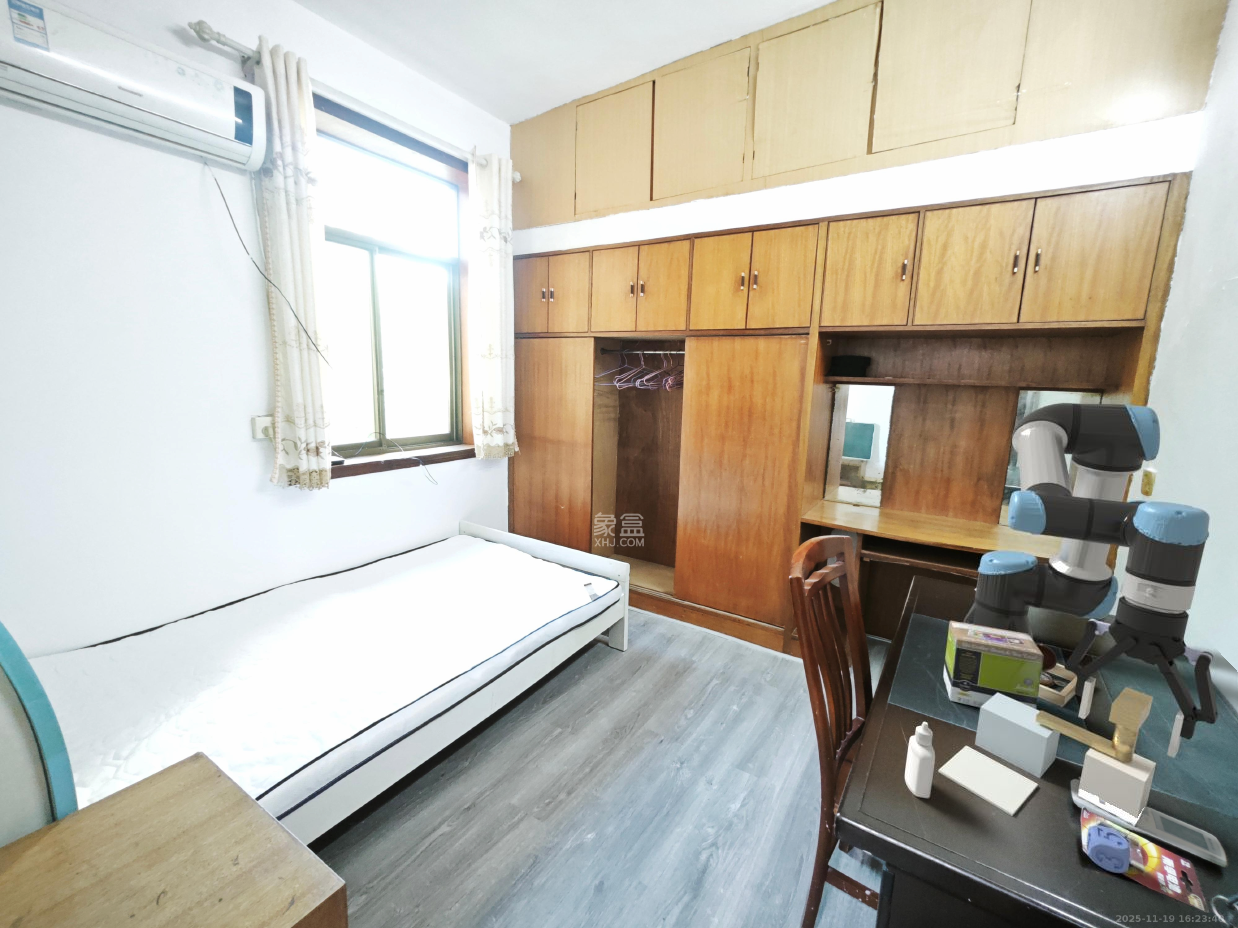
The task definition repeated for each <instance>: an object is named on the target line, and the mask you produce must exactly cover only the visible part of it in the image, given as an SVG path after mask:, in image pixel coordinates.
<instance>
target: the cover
mask: <svg viewBox="0 0 1238 928" xmlns="http://www.w3.org/2000/svg"><path fill="white" fill-rule="evenodd" d="M1040 711H1041V710H1038V709H1037V708H1036V709H1034V708H1032V707H1030V706H1027V705H1025V704H1023V703H1021V702H1018V701H1016V700H1014V699H1011V698H1009V697H1007V696H1005V695H1002V694H1000V693H996V694H995V695H994V696H993V697H992V698H991V699H989V700H988V701H987V702H986V703H985V704H983V705H982V706H981V708H980V707H979V714H978V721H977V722H978V723H977V729H976V735H975V742H974V745H975V746H978V747H979V748H981V749H983V750H985V751H987V752H988V753H991V754H992V755H993V756H994V755H995V756H996V757H999V758H1000V759H1002V760H1004V761H1006V762H1008V763H1010V764H1012V765H1014V766H1016V767H1017V768H1019V769H1022V770H1023V771H1024V772H1027V773H1029V774H1030V775H1032V776H1035V777H1036V778H1038V779H1040V778H1042V776H1043V775H1044V774H1045V772H1046V771H1047V770H1048V769H1049V768H1050V766H1051V765H1052V764H1053V763H1054V762H1055V760H1056V756H1057V752H1058V751H1057V750H1058V745H1059V741H1060V735H1061V733H1060V732H1058V731H1056V730H1054V729H1052V728H1049V727H1047V726H1045V725H1043V724H1041V723H1039V722H1036V715H1037V714H1038V713H1039V712H1040Z"/></svg>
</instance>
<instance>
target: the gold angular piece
mask: <svg viewBox="0 0 1238 928" xmlns="http://www.w3.org/2000/svg"><path fill="white" fill-rule="evenodd" d="M1153 699H1154V696H1152V695H1150V694H1149V695H1148V694H1147V693H1143V692H1141V691H1139V690H1136V689H1132V688H1131V687H1127V686H1125V688H1124V689H1122V691H1121V692H1120V694H1119V695H1118V696H1117V697H1116V698H1115V699H1114V701H1113V702H1112V703H1111V707H1110V712H1109V717H1108V721H1109V722H1111V723H1112V724H1113V723H1114V726H1115V727H1114V731H1113V736H1112V740H1111V739H1110V740H1109V739H1107V738H1105V737H1103V736H1101V735H1098V734H1097V733H1094V732H1091V731H1089V730H1088V729H1085V728H1083V727H1080V726H1078V725H1076V724H1073V723H1071V722H1069V721H1066V720H1064V719H1062V718H1060V717H1058V716H1056V715H1053V714H1050V713H1048V712H1046V711H1044V710H1039V711H1040V712H1039V713H1038V714H1037V715H1036V722H1039V723H1041V724H1043V725H1045V726H1047V727H1049V728H1052V729H1054V730H1056V731H1058V732H1060V734H1063V735H1064V736H1067V737H1069V738H1072V739H1074V740H1076V741H1078V742H1080V743H1081V744H1082V743H1083V744H1085V745H1087V746H1089V747H1090V748H1091V747H1093V748H1095V749H1097V750H1100V751H1102V752H1104V753H1106V754H1108V755H1111V756H1113V757H1115V758H1117V759H1119V760H1121V761H1124V762H1132V759H1133V755H1134V754H1135V750H1136V745H1137V740H1138V737H1139V736H1138V735H1139V730H1140V729H1141V727H1142V726H1143V723H1145V721H1146V719H1147V718H1148V717H1149V715H1150V713H1151V708H1152V703H1153Z"/></svg>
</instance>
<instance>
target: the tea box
mask: <svg viewBox="0 0 1238 928" xmlns="http://www.w3.org/2000/svg"><path fill="white" fill-rule="evenodd" d="M946 642H947V643H946V649H945V657H944V665H943V680H944V683H945V687H946V690H947V691H946V692H947V694H948V698H949V700H950V701H951V702H955V703H960V704H963V705H966V706H967V705H969V706H973V707H977V708H979V709H980V708H981V706H982V705H983V704H985V703H986V702H987V701H988V700H989V699H991V698H992V697H993V696H994V695H995V694H996V693H1000V694H1002V695H1005V696H1007V697H1009V698H1011V699H1014V700H1016V701H1018V702H1021V703H1023V704H1025V705H1027V706H1030V707H1032V708H1034V709H1037V706H1038V699H1039V697H1038V693H1039V686H1040V679H1041V672H1043V671H1042V665H1043V656H1044V655H1043V654H1042V653H1041V651H1040V650H1039V648H1038V647H1037V645H1036V642H1035V641H1034V639H1033V640H1032V638H1031V637H1030V634H1026V633H1020V632H1014V631H1008V630H1002V629H996V628H991V627H985V626H979V625H973V624H967V623H964V622H959V621H955V620H949V623H948V633H947V641H946Z"/></svg>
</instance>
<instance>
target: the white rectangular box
mask: <svg viewBox="0 0 1238 928" xmlns="http://www.w3.org/2000/svg"><path fill="white" fill-rule="evenodd" d="M1156 765H1157V763H1156V762H1155V761H1152V760H1150V759H1148V758H1145V757H1143V756H1141V755H1139V754H1137V753H1134V755H1133V759H1132V762H1124V761H1121V760H1119V759H1117V758H1115V757H1113V756H1111V755H1108V754H1106V753H1104V752H1102V751H1100V750H1097V749H1095V748H1093V747H1091V746H1090V748H1089V749H1088V750H1087V751H1086V753H1085V755H1084V761H1083V765H1082V769H1081V770H1082V771H1081V776H1080V780H1079V781H1080V782H1079V786H1078V790H1079V789H1082V790H1084V791H1086V792H1088V793H1091V794H1093V795H1096V796H1098V797H1100V798H1101V799H1102V800H1104V801H1105V802H1107V803H1109V804H1110V805H1113V806H1115V807H1117V808H1119V809H1122V810H1123V811H1125V812H1127V813H1129V814H1130V815H1132V816H1134V817H1135V818H1138V816H1139V814H1140V813H1141V811H1142V809H1143V808H1144V807H1146V808H1147V806H1148V800H1149V795H1150V792H1151V787H1152V782H1153V778H1154V775H1155V774H1154V773H1155V770H1156V769H1155V768H1156Z"/></svg>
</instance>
